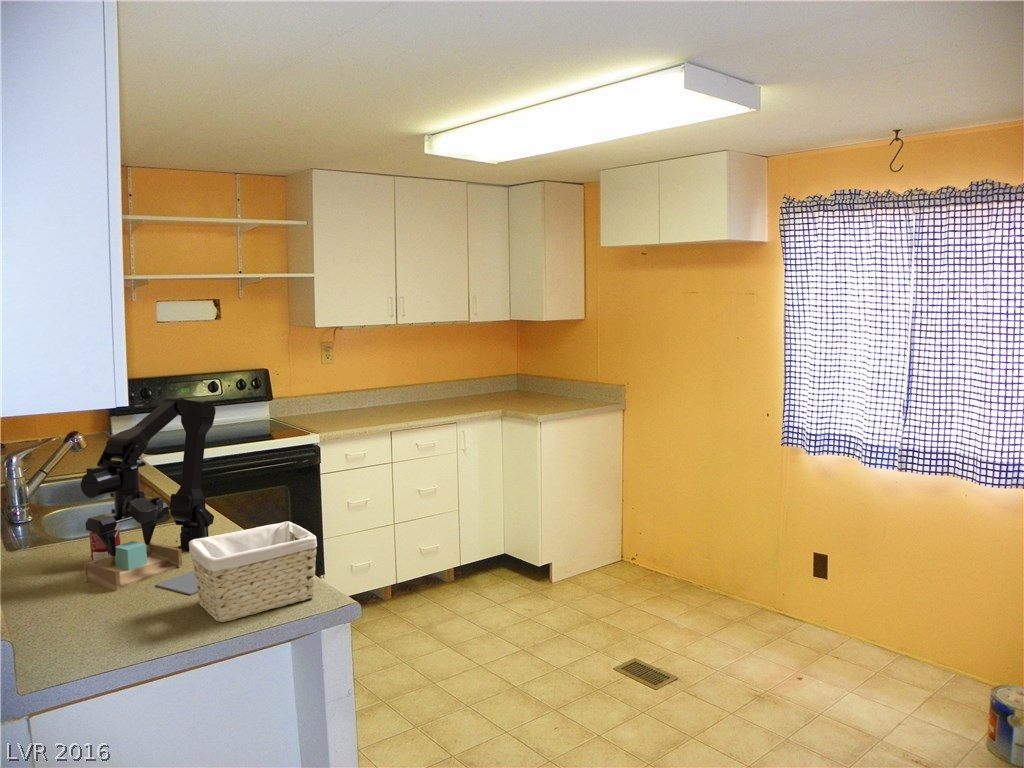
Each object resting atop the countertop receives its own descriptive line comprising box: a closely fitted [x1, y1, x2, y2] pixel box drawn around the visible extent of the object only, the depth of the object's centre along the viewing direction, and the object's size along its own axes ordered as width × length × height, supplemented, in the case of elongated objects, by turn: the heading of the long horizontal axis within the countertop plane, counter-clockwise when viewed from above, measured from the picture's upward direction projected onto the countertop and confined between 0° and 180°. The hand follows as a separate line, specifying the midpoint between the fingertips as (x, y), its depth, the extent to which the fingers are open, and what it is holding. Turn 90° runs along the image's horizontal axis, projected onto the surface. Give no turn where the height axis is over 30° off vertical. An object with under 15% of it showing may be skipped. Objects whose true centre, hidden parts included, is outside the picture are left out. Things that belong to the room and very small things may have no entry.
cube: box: [115, 540, 147, 570], centre depth 194 cm, size 5×5×5 cm
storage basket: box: [188, 521, 318, 623], centre depth 176 cm, size 24×16×15 cm
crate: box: [83, 541, 183, 591], centre depth 194 cm, size 18×12×4 cm, turn 151°
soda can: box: [88, 513, 121, 562], centre depth 202 cm, size 7×7×12 cm
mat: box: [154, 569, 198, 596], centre depth 189 cm, size 12×12×1 cm
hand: (130, 550), depth 194 cm, fingers open, 9 cm apart
